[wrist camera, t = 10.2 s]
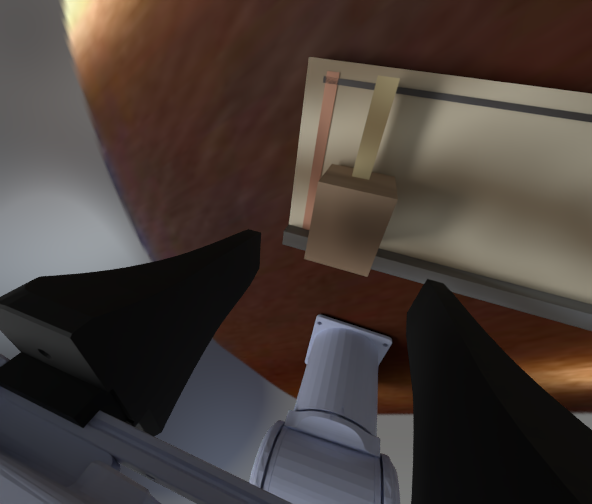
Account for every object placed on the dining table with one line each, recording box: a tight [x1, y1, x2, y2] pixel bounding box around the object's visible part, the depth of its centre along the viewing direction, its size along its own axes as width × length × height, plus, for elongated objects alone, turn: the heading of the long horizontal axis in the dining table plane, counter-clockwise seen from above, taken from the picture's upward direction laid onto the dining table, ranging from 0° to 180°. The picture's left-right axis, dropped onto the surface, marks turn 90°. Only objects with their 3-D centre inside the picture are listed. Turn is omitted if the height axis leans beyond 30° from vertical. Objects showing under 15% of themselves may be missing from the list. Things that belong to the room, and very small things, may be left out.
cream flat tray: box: [283, 57, 592, 331], centre depth 14 cm, size 12×28×3 cm, turn 83°
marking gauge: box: [304, 75, 400, 277], centre depth 14 cm, size 10×4×4 cm, turn 173°
